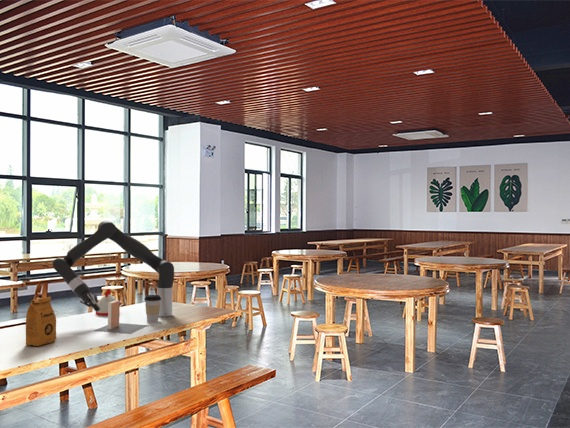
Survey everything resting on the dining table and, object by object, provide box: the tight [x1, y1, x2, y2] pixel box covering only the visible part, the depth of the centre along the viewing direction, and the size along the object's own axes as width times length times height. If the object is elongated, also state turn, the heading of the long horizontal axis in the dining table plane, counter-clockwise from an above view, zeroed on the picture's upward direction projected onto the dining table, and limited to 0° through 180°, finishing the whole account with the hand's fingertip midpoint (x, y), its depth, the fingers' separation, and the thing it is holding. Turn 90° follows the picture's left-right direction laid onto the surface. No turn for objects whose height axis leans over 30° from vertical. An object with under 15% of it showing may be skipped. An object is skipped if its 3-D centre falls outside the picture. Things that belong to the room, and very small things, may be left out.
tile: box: [107, 299, 121, 329], centre depth 276 cm, size 2×8×14 cm, turn 167°
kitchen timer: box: [95, 288, 121, 317], centre depth 314 cm, size 14×14×15 cm
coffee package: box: [25, 296, 57, 347], centre depth 243 cm, size 10×12×22 cm
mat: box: [93, 322, 149, 335], centre depth 275 cm, size 22×20×1 cm
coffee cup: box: [144, 294, 161, 323], centre depth 293 cm, size 9×9×15 cm
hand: (98, 310), depth 278 cm, fingers closed
